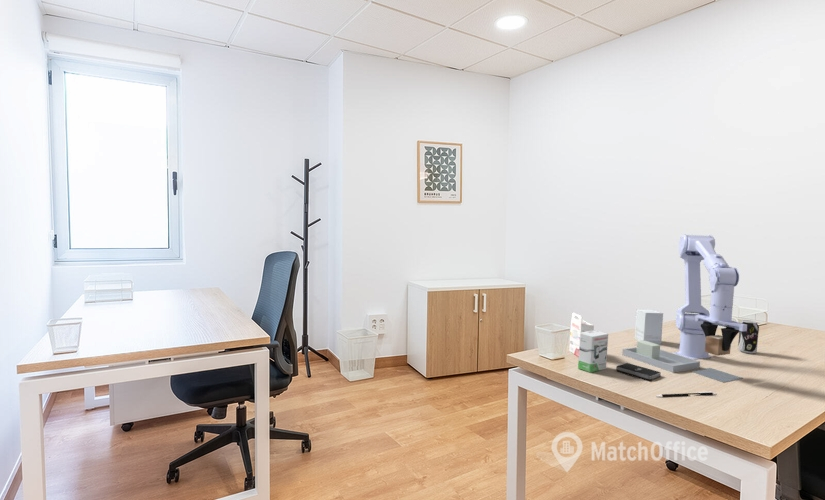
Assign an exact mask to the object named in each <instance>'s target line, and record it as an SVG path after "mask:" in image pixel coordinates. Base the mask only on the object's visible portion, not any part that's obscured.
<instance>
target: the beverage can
mask: <svg viewBox="0 0 825 500" xmlns="http://www.w3.org/2000/svg"><path fill="white" fill-rule="evenodd" d="M741 323H742V324H746V325H747V331H739V333H738V344H737V346H738V347H737V349H738V351H740V352H741V353H744V354H749V355H753V354H756V353H757V352H758V342H759V332H760V326H759V324H758V321H756V320H755V321H754V320H751V319H750V320H749V319H742V320H741Z"/></svg>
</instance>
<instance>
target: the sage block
mask: <svg viewBox="0 0 825 500" xmlns="http://www.w3.org/2000/svg"><path fill="white" fill-rule="evenodd" d="M636 347H637V353H638V354H641V355H644V356H647V357H650V358H653V359H656V360H657V359H659V357H660V350H661V344H655V343H651V342H648V341H638V340H637V342H636Z"/></svg>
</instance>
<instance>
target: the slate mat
mask: <svg viewBox="0 0 825 500" xmlns="http://www.w3.org/2000/svg"><path fill="white" fill-rule="evenodd" d="M690 373H694V374H696V375H699V376H702V377H704V378H709V379H712V380H714V381H717V382H721V383H722V384H724V383H728V382H733V381H738V380H742V379H744V378H743V377H741V376H738V375H735V374H731V373H729V372H724V371H723V370H720V369H719V370H718V369H715V368H713V367H709V368H708V367H707V368H702V369H694V370H690Z"/></svg>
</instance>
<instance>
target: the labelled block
mask: <svg viewBox="0 0 825 500" xmlns="http://www.w3.org/2000/svg"><path fill="white" fill-rule="evenodd" d="M722 342H723V338H722V334H721V335H720V334H717V335H716V334H715V335H714V336H706V342H705V352H707V353H709V354H711V355H713V356H724V355H731V347H732V344H731V345H730V348H729V351H723V350H722Z"/></svg>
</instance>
